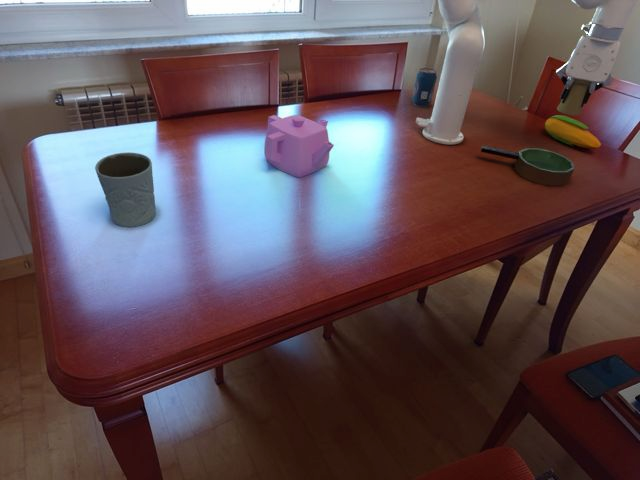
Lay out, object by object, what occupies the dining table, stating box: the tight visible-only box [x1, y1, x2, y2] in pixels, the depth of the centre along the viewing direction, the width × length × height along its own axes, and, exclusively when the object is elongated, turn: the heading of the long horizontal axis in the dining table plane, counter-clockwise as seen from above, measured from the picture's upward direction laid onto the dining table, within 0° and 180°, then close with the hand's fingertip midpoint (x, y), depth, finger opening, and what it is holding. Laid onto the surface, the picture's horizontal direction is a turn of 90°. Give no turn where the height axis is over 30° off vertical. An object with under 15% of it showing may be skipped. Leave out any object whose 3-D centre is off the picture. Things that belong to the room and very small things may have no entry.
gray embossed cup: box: [94, 152, 157, 228], centre depth 87 cm, size 10×10×12 cm
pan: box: [480, 144, 575, 187], centre depth 121 cm, size 24×14×4 cm, turn 69°
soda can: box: [411, 67, 438, 108], centre depth 156 cm, size 7×7×12 cm
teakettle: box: [264, 114, 335, 178], centre depth 111 cm, size 17×17×12 cm
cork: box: [556, 79, 592, 116], centre depth 119 cm, size 6×6×11 cm
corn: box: [544, 114, 602, 150], centre depth 137 cm, size 7×8×20 cm
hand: (571, 103), depth 121 cm, fingers closed on cork, 4 cm apart
